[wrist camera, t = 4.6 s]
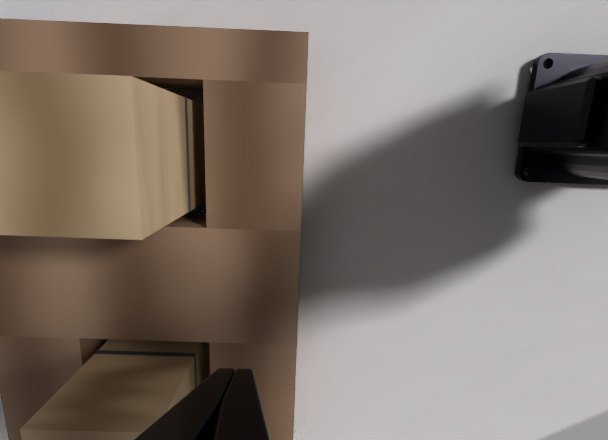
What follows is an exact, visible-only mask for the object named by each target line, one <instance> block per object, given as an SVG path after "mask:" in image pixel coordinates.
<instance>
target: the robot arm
mask: <svg viewBox="0 0 608 440" xmlns="http://www.w3.org/2000/svg"><path fill="white" fill-rule="evenodd" d="M544 60H545V61H547V63H548V66H547V68H544V66H543V63H544ZM518 142H519V144H520V145H519V150H518V156H517V162H516V168H515V176H516V178H517V179H518V180H521V181H526V182H550V183H576V184H602V185H608V55H586V54H564V53H547V54H544V55H541V56H539V57H538V58H537V59H536V60H535V61H534V64H533V69H532V75H531V81H530V87H529V92H528V94H527V95H526V99H525V105H524V111H523V117H522V122H521V128H520V134H519V140H518ZM526 168H527V169H528V174H527V175H526V176H525V175H524V171H525V169H526ZM134 440H270V437H269V433H268V429H267V425H266V421H265V417H264V413H263V409H262V405H261V401H260V397H259V393H258V389H257V385H256V381H255V377H254V373H253V370H252V369H244V368H238V369H236V370H235V369H234V368H218V369H217V370H216V371H215V372H213V373H212V374H211V375H210V376H209V377H207V378H206V379H205V380H204V381H203V382H202V383H200V384H199V385H198V386H197V387H196V388H194V389H193V390H192V391H191V392H190V393H189V394H187V395H186V396H185V397H184V398H183V399H181V400H180V401H179V402H178V403H177V404H176V405H174V406H173V407H172V408H171V409H170V410H169V411H167V412H166V413H165V414H164V415H163V416H161V417H160V418H159V419H158V420H157V421H156V422H154V423H153V424H152V425H151V426H150V427H148V428H147V429H146V430H145V431H144V432H143V433H141V434H140V435H139V436H138V437H137V438H135V439H134Z"/></svg>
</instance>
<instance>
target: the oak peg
mask: <svg viewBox="0 0 608 440" xmlns="http://www.w3.org/2000/svg"><path fill="white" fill-rule="evenodd" d="M209 376H210V347H209V342H183V341H150V340H118V339H109V340H108V341H107V342H106V343H105V344H104V345H103V346H102V347H101V348H100V349H99V350H97V351H96V352H95V353H94V355H93V356H92V357H91V358H90V359H89V360H88V361H87V362H86V363H85V364H84V365H83V366H82V367H81V368H80V369H79V370H78V371H77V372H76V373H75V374H74V375H73V376H72V377H71V378H70V379H69V380H68V381H67V382H66V383H65V384H64V385H63V386H62V387H61V388H60V389H59V390H58V391H57V392H56V393H55V394H54V395H53V396H52V397H51V398H50V399H49V400H48V401H47V402H46V403H45V405H44V406H43V407H42V408H41V409H40V410H39V411H38V412H37V413H36V414H35V415H34V416H33V417H32V418H31V419H30V420H29V421H28V422H27V423H26V424H25V425H24V426H23V427H22V428H21V429H20V433H21V439H22V440H134V439H135V438H137V437H138V436H139V435H140V434H141V433H143V432H144V431H145V430H146V429H147V428H148V427H150V426H151V425H152V424H153V423H154V422H156V421H157V420H158V419H159V418H160V417H161V416H163V415H164V414H165V413H166V412H167V411H169V410H170V409H171V408H172V407H173V406H174V405H176V404H177V403H178V402H179V401H180V400H181V399H183V398H184V397H185V396H186V395H187V394H189V393H190V392H191V391H192V390H193V389H194V388H196V387H197V386H198V385H199V384H200V383H202V382H203V381H204V380H205V379H206V378H207V377H209Z"/></svg>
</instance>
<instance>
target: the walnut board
mask: <svg viewBox="0 0 608 440" xmlns="http://www.w3.org/2000/svg"><path fill="white" fill-rule="evenodd" d="M308 33H309V32H291V31H268V30H246V29H223V28H201V27H179V26H156V25H134V24H111V23H89V22H66V21H44V20H21V19H0V393H1V399H2V404H3V410H4V415H5V421H6V426H7V432H8V438H9V440H22V439H21V433H20V429H21V428H22V427H23V426H24V425H25V424H26V423H27V422H28V421H29V420H30V419H31V418H32V417H33V416H34V415H35V414H36V413H37V412H38V411H39V410H40V409H41V408H42V407H43V406H44V405H45V403H46V402H47V401H48V400H49V399H50V398H51V397H52V396H53V395H54V394H55V393H56V392H57V391H58V390H59V389H60V388H61V387H62V386H63V385H64V384H65V383H66V382H67V381H68V380H69V379H70V378H71V377H72V376H73V375H74V374H75V373H76V372H77V371H78V370H79V369H80V368H81V367H82V366H83V365H84V364H85V363H86V362H87V361H88V360H89V359H90V358H91V357H92V356H93V355H94V353H95V352H96V351H97V350H99V349H100V348H101V347H102V346H103V345H104V344H105V343H106V342H107V341H108V340H109V339H118V340H150V341H183V342H209V347H210V375H211V374H212V373H213V372H215V371H216V370H217V369H218V368H234V369H235V370H236V369H238V368H244V369H252V370H253V373H254V377H255V381H256V385H257V389H258V393H259V397H260V401H261V405H262V409H263V413H264V417H265V421H266V425H267V429H268V433H269V437H270V440H293V428H294V402H295V375H296V349H297V323H298V296H299V270H300V243H301V217H302V191H303V164H304V138H305V112H306V85H307V59H308ZM162 88H183V89H203V101H204V105H202V104H200V103H197V102H195V101H192V100H190V99H187V98H186V97H182V96H180V95H177V94H175V93H172V92H170V91H167V90H165V89H162ZM204 202H206V215H192V214H186V213H188V212H191V210H193V209H194V208H196V207H198V206H199V205H201V204H203V203H204Z"/></svg>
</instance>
